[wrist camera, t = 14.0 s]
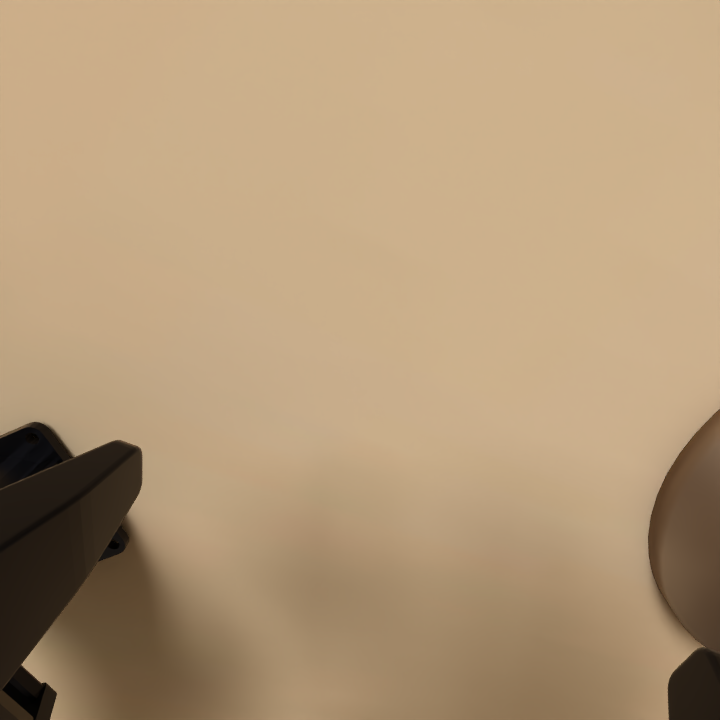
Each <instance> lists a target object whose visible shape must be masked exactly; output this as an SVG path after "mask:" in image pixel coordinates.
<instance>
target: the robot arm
mask: <svg viewBox="0 0 720 720" xmlns="http://www.w3.org/2000/svg"><path fill="white" fill-rule="evenodd" d="M31 433H34V434H36V435H37V436H38V438H39V439H36V438H34V437H33V436H32V434H31ZM141 486H142V451H141V449H140V448H139V447H138V446H135V445H133V444H130V443H127V442H124V441H121V440H116V441H112V442H109V443H107V444H105V445H102V446H100V447H98V448H95V449H93V450H91V451H88V452H86V453H83V454H81V455H79V456H76V457H74V458H72V459H71V458H70V457H69V455H68V454H67V453H66V451H65V450H64V449H63V447H62V446H61V445H60V443H59V442H58V441H57V439H56V438H55V437H54V435H53V434H52V433H51V431H50V430H49V429H48V428H47V427H46V426H45V425H44V424H41V423H39V422H32V423H29V424H26V425H24V426H22V427H19V428H17V429H15V430H12V431H10V432H8V433H6V434H3V435H1V436H0V720H50V717H51V713H52V710H53V706H54V703H55V699H56V696H57V693H56V692H55V691H54V690H53V689H52V688H51V687H50V686H49V685H48V684H47V683H42V684H41V683H40V682H39V681H38V680H37V679H36V678H35V677H34V676H33V675H32V674H30V673H29V672H28V671H27V670H26V669H25V668H24V667H23V666H22V665H21V664H22V663H23V662H24V660H25V659H26V658H27V656H28V655H29V654H30V652H31V651H32V650H33V649H34V647H35V646H36V645H37V643H38V642H39V641H40V639H41V638H42V637H43V636H44V634H45V633H46V632H47V630H48V629H49V628H50V626H51V625H52V624H53V622H54V621H55V620H56V619H57V617H58V616H59V615H60V613H61V612H62V611H63V609H64V608H65V607H66V605H67V604H68V603H69V602H70V600H71V599H72V598H73V596H74V595H75V594H76V592H77V591H78V590H79V588H80V587H81V586H82V584H83V583H84V581H85V580H86V579H87V577H88V576H89V574H90V573H91V571H92V569H93V568H94V566H95V565H96V563H97V562H98V561H101V560H104V559H106V558H109V557H111V556H114V555H117V554H119V553H121V552H123V551H124V549H125V547H126V546H127V544H128V542H129V537H128V535H127V533H126V532H125V530H124V529H123V528H122V526H121V525H120V524H121V522H122V521H123V519H124V518H125V516H126V514H127V513H128V511H129V509H130V508H131V506H132V504H133V503H134V501H135V500H136V498H137V496H138V494H139V492H140V489H141ZM113 540H116V541H117V542H119V543H116V542H114V541H113ZM668 709H669V720H720V652H718V651H715V650H712V649H709V648H705V647H702V648H698V649H697V650H695V651H694V652H693V653H692V654H691V655H690V656H689V657H688V658H687V659H686V660H685V661H684V662H683V663H682V664H681V665H680V666H679V667H678V668H677V669H676V670H675V671H674V672H673V673H672V675H671V677H670V679H669V683H668Z"/></svg>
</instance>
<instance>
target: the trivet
mask: <svg viewBox="0 0 720 720" xmlns="http://www.w3.org/2000/svg"><path fill="white" fill-rule="evenodd" d="M648 539H649V558H650V563H651V567H652V572H653V575H654V578H655V580H656V582H657V585H658V587H659V590H660V591H661V593H662V594H663V596H664V597H665V599H666V601H667V602H668V604H669V605H670V607H671V608H672V610H673V611H674V613H675V614H676V616H677V617H678V619H679V620H680V622H681V623H682V625H683V626H684V627H685V628H686V629H687V631H688V632H689V633H690V634H691V635H692V636H693V637H694V638H695V639H696V640H697V641H699V642H700V643H701V644H703V645H704V646H705V647H706V648H709V649H712V650H715V651H718V652H720V410H719V411H717V412H716V413H715V414H714V415H713V416H712V417H711V418H710V419H709V420H708V421H707V422H706V423H705V424H704V425H703V426H702V427H701V428H700V430H699V431H698V432H697V433H696V434H695V435H694V436H693V438H692V439H691V440H690V441H689V443H688V444H687V445H686V446H685V448H684V449H683V450H682V452H681V453H680V454H679V456H678V458H677V459H676V461H675V462H674V464H673V466H672V467H671V469H670V470H669V472H668V474H667V476H666V478H665V480H664V482H663V484H662V487H661V489H660V491H659V493H658V495H657V499H656V502H655V505H654V509H653V512H652V515H651V521H650V529H649V536H648Z"/></svg>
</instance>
